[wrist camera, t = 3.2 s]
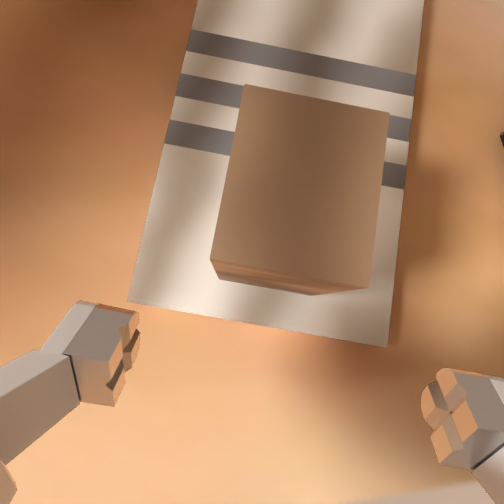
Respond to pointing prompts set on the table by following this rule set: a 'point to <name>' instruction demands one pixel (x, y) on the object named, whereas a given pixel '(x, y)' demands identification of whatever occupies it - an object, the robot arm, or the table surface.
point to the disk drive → (502, 137)
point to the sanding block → (300, 194)
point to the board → (221, 139)
